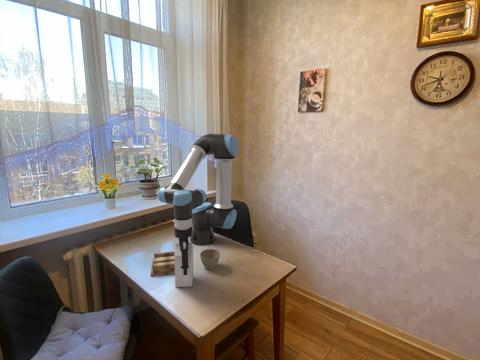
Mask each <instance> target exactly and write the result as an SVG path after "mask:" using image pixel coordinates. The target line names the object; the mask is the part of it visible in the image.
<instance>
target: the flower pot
mask: <svg viewBox="0 0 480 360" xmlns="http://www.w3.org/2000/svg"><path fill="white" fill-rule="evenodd" d="M199 257H200V261H201V263H202V265H203V267H204V269H206V270H213V269H214V268H216V266H217V264H218V263H219V260H220V257H221V252H220V251H219V250H217V249H215V248H206V249H203V250H201V251H200V253H199Z"/></svg>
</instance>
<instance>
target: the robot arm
mask: <svg viewBox="0 0 480 360" xmlns="http://www.w3.org/2000/svg"><path fill="white" fill-rule="evenodd" d="M239 147H240V146H239V141H238V138H237V137H236V136H235V135H234V134H230V133H229V134H228V133H223V134H222V133H220V134H219V133H208V134H207V133H206V134H204V135H203V136H200V137H199V138H198V139H196V141H194V143H193V144H192V145H191V147H190V148H189V154H188V155H187V156H186V158H185V159H184V161H183V163H182V164H181V166H179V167H180V168H179V169H178V171H176V174H175V175H174V176H173V178H172V179H171V181H170V183H169V185H168V186H162V187H161V188H159V191H158V194H157V198H158V200H159V201H160V202H161V203H165V204H170V205H173V220H172V223H174V234H173V235H174V237H175V238H177V239H178V243H179V245H180V251H181V254H182V266H181V267H180V268H182V281H189V271H188V268H189V266H188V244H189V243H192V245H197V246H207V245H210V244H212V243H214V241H216V240H215V239H216V237H215V232H214V229H213V228H219V229H220V228H221V229H223V230H224V229H227V230H229V229H232V227H233V226H234V225H235V223H236V220H237V215H238V212H237V209H235V208H234V204H232V175H233V174H232V170H233V166H232V165H233V161H235V157H238V155H239V149H240V148H239ZM209 155H212V156H213V159H214V161H216V173H215V175H216V176H215V177H216V182H215V183H216V185H215V190H216V191H215V200H216V201H215V202H214V203H212V202H209V201H207V198H208V197H207V193H206V192H205V190H204V189H201V188H198V189H197V188H196V189H194V190H191V189H186V188H187V186H188V184H189V183H190V180H191V179H192V177H193V176H194V174H195V173H196V171H197V169H198V168H199V165H200V164H201V162H202V161H203V160H204V159H206V157H207V156H209ZM181 248H182V249H181Z"/></svg>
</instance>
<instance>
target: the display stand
mask: <svg viewBox="0 0 480 360" xmlns="http://www.w3.org/2000/svg"><path fill="white" fill-rule="evenodd" d="M174 254H175V250H173V251H165V252H155V253H154V255H153V257H154V258H153V259H152V260H151V267H150V268H151V271H150V277H157V276H163V275H164V276H166V275H172V274H173V275H175V260H174Z"/></svg>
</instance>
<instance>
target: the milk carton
mask: <svg viewBox="0 0 480 360" xmlns="http://www.w3.org/2000/svg"><path fill="white" fill-rule="evenodd" d="M181 249H182V248H181ZM174 251H175V254H174V260H175V273H174V283H175V288H186V287H188V288H189V287H193V281H194V247H193V243H191V242H189V244H188V266H189V268H188V271H189V281H182V268H180V267H181V266H182V254H181V251H180V245H179V242H175V247H174Z"/></svg>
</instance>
